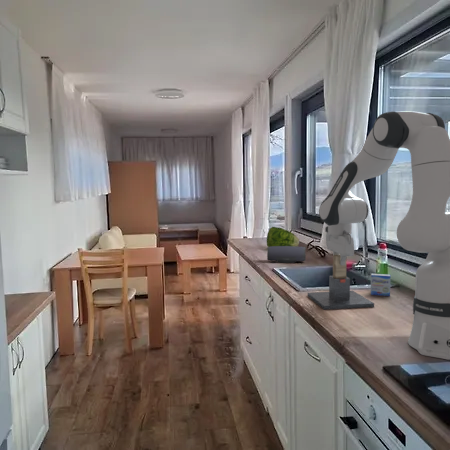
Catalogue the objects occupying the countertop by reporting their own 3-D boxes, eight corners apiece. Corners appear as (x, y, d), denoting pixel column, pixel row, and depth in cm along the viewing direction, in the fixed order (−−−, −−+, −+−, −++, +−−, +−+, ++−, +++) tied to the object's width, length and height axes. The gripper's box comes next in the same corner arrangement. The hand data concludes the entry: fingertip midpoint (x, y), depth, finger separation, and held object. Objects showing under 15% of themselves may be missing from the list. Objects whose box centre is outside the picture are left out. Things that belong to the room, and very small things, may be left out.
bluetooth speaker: (305, 261, 263) (305, 245, 262) (305, 264, 254) (305, 247, 253) (268, 260, 267) (268, 244, 266) (267, 263, 258) (267, 247, 257)
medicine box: (370, 295, 182) (370, 275, 182) (370, 292, 187) (371, 272, 186) (390, 296, 180) (390, 276, 179) (390, 293, 184) (390, 274, 183)
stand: (374, 307, 165) (374, 281, 164) (324, 309, 162) (324, 283, 161) (352, 293, 184) (352, 271, 184) (307, 296, 182) (307, 273, 181)
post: (346, 295, 171) (346, 256, 170) (336, 296, 171) (336, 256, 169) (342, 293, 175) (342, 254, 174) (332, 293, 175) (332, 254, 173)
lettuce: (296, 258, 308) (302, 243, 296) (264, 253, 308) (269, 238, 296) (296, 241, 320) (301, 226, 308) (265, 236, 319) (269, 221, 307)
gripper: (358, 232, 161) (358, 268, 162) (337, 226, 181) (337, 259, 182) (342, 232, 160) (342, 269, 161) (323, 227, 180) (323, 259, 181)
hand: (339, 263), depth 172 cm, fingers closed on post, 4 cm apart
